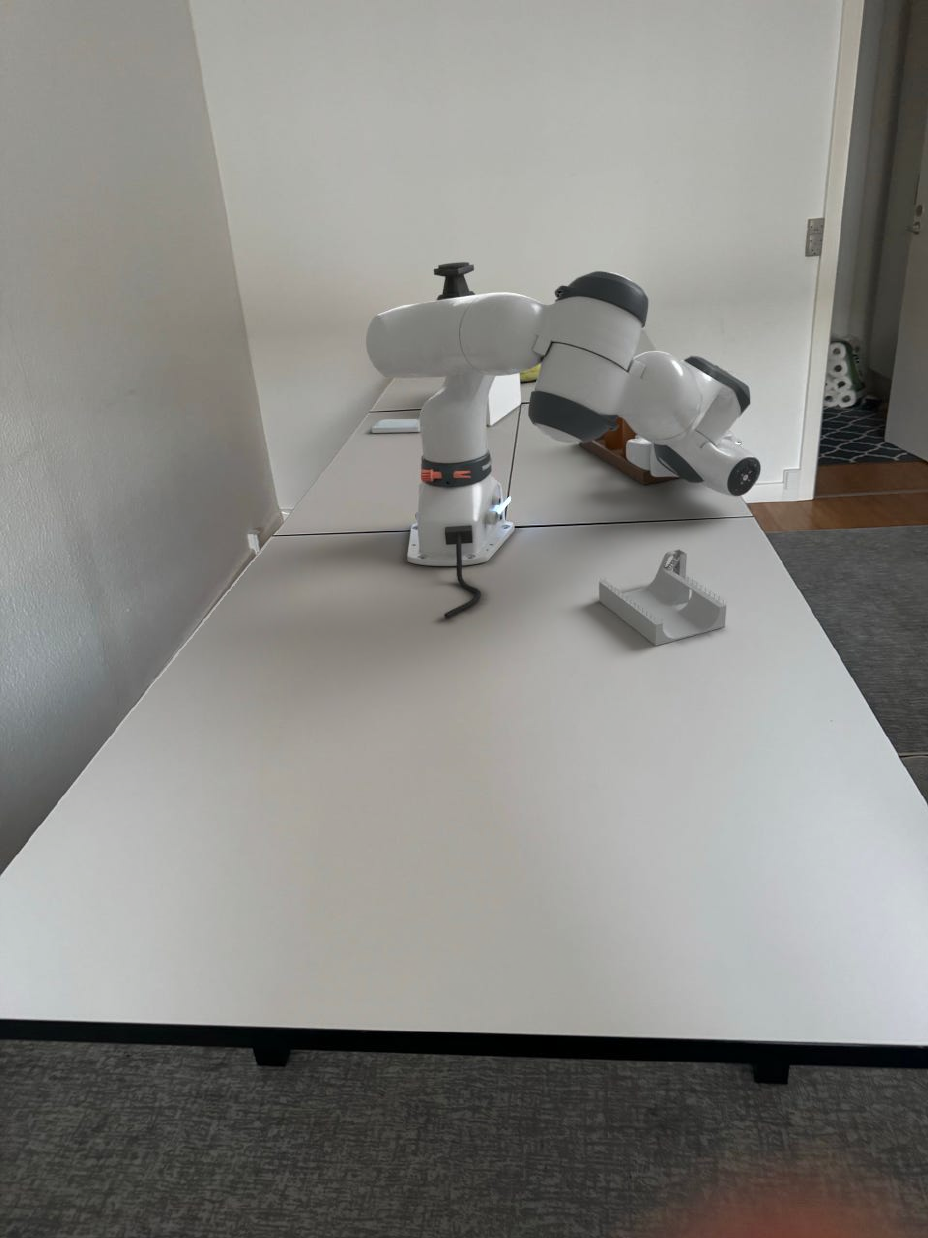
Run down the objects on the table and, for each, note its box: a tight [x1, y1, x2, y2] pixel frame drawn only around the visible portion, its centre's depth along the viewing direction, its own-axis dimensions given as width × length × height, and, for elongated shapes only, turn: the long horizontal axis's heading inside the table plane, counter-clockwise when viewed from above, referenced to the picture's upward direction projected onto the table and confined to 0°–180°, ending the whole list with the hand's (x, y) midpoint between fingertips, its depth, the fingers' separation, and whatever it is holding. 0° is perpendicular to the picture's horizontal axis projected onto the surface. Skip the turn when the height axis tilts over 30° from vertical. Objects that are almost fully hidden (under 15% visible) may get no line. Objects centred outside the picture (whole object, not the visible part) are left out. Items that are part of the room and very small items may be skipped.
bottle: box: [433, 261, 477, 301], centre depth 294 cm, size 18×16×30 cm
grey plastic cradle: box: [598, 549, 727, 647], centre depth 115 cm, size 15×13×5 cm
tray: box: [578, 434, 682, 485], centre depth 177 cm, size 32×13×2 cm, turn 16°
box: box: [444, 373, 522, 427], centre depth 225 cm, size 20×40×14 cm, turn 3°
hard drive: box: [371, 418, 421, 434], centre depth 216 cm, size 2×8×12 cm
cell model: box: [519, 364, 541, 383], centre depth 253 cm, size 11×8×15 cm
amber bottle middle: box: [623, 419, 638, 459], centre depth 175 cm, size 6×6×12 cm
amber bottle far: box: [605, 417, 623, 449], centre depth 182 cm, size 6×6×12 cm
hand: (660, 435), depth 165 cm, fingers open, 8 cm apart
